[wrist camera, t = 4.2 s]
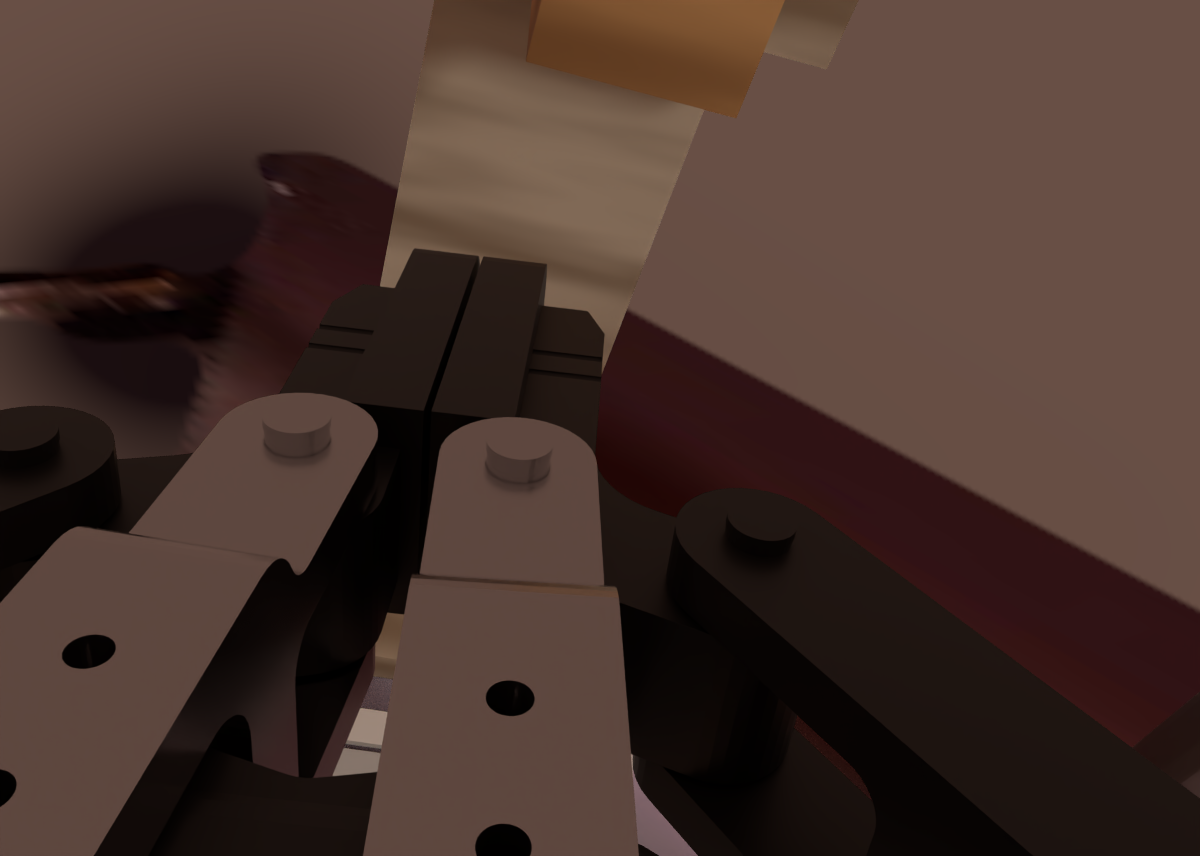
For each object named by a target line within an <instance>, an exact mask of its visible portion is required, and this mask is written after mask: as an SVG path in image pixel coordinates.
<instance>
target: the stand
mask: <svg viewBox="0 0 1200 856" xmlns="http://www.w3.org/2000/svg"><path fill="white" fill-rule="evenodd" d="M857 2H858V0H785V1H784V4H783V6H782V9H781V11H780V13H779V16H778V18H777V21H776V23H775V26H774V28H773V30H772V33H771V35H770V38H769V40H768V43H767V45H766V47H765V50H764V52H767V53H770V54H774V55H778V56H781V57H784V58H788V59H791V60H795V61H798V62H802V63H806V64H809V65H812V66H816V67H820V68H823V69H827V68H828V66H829V64H830V61H831V59H832V57H833V55H834V53H835V50H836V48H837V46H838V44H839V42H840V39H841V37H842V35H843V33H844V31H845V28H846V26H847V24H848V22H849V20H850V18H851V15H852V13H853V11H854V9H855V7H856V4H857ZM531 3H532V0H434V4H433V10H432V15H431V20H430V26H429V31H428V36H427V41H426V47H425V53H424V57H423V63H422V68H421V74H420V78H419V84H418V89H417V94H416V100H415V105H414V110H413V115H412V121H411V126H410V132H409V137H408V142H407V147H406V152H405V158H404V163H403V168H402V173H401V179H400V184H399V189H398V195H397V200H396V205H395V210H394V216H393V221H392V226H391V232H390V237H389V242H388V247H387V253H386V258H385V263H384V268H383V274H382V279H381V284H380V286H381V287H389V288H395V286H396V284H397V282H398V280H399V278H400V276H401V274H402V272H403V270H404V268H405V265H406V263H407V261H408V259H409V257H410V255H411V253H412V251H413V249H415V248H418V249H426V250H434V251H443V252H451V253H459V254H468V255H476V256H479V259H480V264H481V261H482V259H483V257H484V256H486V257H494V258H502V259H511V260H519V261H527V262H535V263H544V264H547V278H546V290H545V300H544V306H550V307H558V308H567V309H575V310H583V311H588V312H589V313H590V315H591V316H592V317H593V319H594V320H595V321H596V323H597V324H598V325H599V327H600V328H601V329H602V331H603V332H604V334H605V336H604V349H603V360H602V372H603V369H604V367H605V364H606V361H607V359H608V356H609V354H610V351H611V349H612V346H613V343H614V341H615V338H616V336H617V333H618V331H619V328H620V325H621V323H622V320H623V318H624V315H625V312H626V310H627V307H628V305H629V302H630V300H631V297H632V294H633V292H634V289H635V287H636V284H637V281H638V279H639V276H640V274H641V271H642V269H643V266H644V263H645V261H646V258H647V256H648V253H649V251H650V248H651V245H652V243H653V240H654V238H655V235H656V232H657V230H658V227H659V225H660V222H661V220H662V217H663V214H664V212H665V209H666V207H667V204H668V201H669V199H670V196H671V194H672V191H673V189H674V186H675V184H676V181H677V178H678V176H679V173H680V171H681V168H682V165H683V163H684V160H685V158H686V155H687V152H688V150H689V147H690V145H691V142H692V140H693V137H694V134H695V132H696V129H697V127H698V124H699V122H700V119H701V116H702V114H703V111H704V110H703V109H700V108H696V107H692V106H689V105H685V104H681V103H677V102H674V101H670V100H666V99H663V98H659V97H655V96H651V95H648V94H644V93H640V92H637V91H633V90H629V89H625V88H622V87H618V86H614V85H611V84H607V83H603V82H599V81H596V80H592V79H588V78H585V77H581V76H577V75H573V74H570V73H566V72H562V71H559V70H555V69H551V68H547V67H544V66H540V65H536V64H533V63H529V62H526V54H527V44H528V34H529V24H530V14H531ZM403 619H404V615H403V614H394V613H387V615H386V619H385V622H384V625H383V628H382V632H381V634H380V636H379V639H378V641H377V642H376V649H375V672H374V675H373V676H376V677H382V678H389V679H393V677H394V672H395V666H396V660H397V654H398V648H399V642H400V637H401V631H402V625H403Z"/></svg>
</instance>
